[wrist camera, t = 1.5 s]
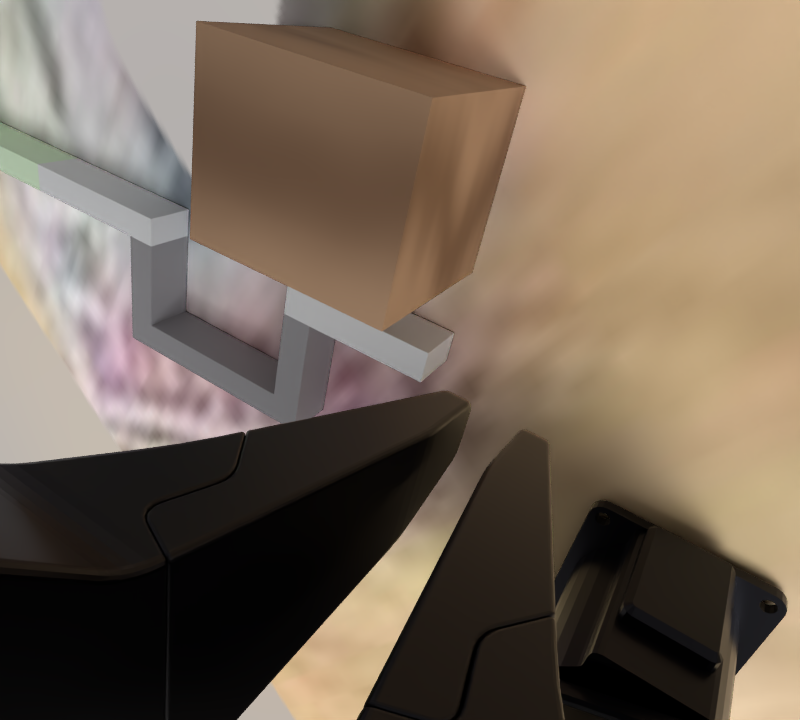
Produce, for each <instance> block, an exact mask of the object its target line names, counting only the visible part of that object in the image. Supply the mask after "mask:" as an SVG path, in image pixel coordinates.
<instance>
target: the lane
mask: <svg viewBox="0 0 800 720" xmlns="http://www.w3.org/2000/svg"><path fill="white" fill-rule="evenodd" d="M38 174H39V185H40V191H42V192H44V193H46V194H48V195H50V196H52V197H54V198H56V199H58V200H60V201H62V202H64V203H66V204H68V205H70V206H72V207H74V208H76V209H78V210H80V211H82V212H84V213H86V214H88V215H90V216H92V217H94V218H95V219H97V220H99V221H101V222H103V223H105V224H107V225H109V226H111V227H113V228H115V229H117V230H119V231H121V232H123V233H125V234H127V235H129V236H131V237H133V238H135V239H137V240H139V241H141V242H143V243H145V244H147V245H149V246H155V245H158V244H162V243H165V242H168V241H172V240H175V239H179V238H182V237H185V236H188V215H189V210H188V209H186V208H184V207H182V206H180V205H178V204H176V203H173V202H171V201H169V200H167V199H165V198H163V197H160V196H158V195H156V194H154V193H152V192H150V191H148V190H145V189H143V188H141V187H139V186H137V185H135V184H132V183H130V182H128V181H126V180H124V179H122V178H120V177H117V176H115V175H113V174H111V173H109V172H107V171H104V170H102V169H100V168H98V167H96V166H94V165H92V164H89V163H87V162H85V161H83V160H81V159H79V158H77V159H70V160H63V161H56V162H49V163H42V164H38ZM284 314H286V315H288V316H290V317H292V318H294V319H296V320H298V321H300V322H302V323H304V324H306V325H308V326H310V327H312V328H314V329H315V330H317V331H319V332H321V333H323V334H325V335H327V336H329V337H331V338H333V339H335V340H337V341H339V342H341V343H343V344H345V345H347V346H349V347H351V348H353V349H355V350H357V351H359V352H361V353H363V354H365V355H367V356H369V357H371V358H373V359H375V360H377V361H379V362H381V363H383V364H385V365H387V366H389V367H391V368H393V369H395V370H397V371H399V372H401V373H403V374H405V375H407V376H409V377H411V378H413V379H415V380H417V381H419V382H422V381H423V380H424V379H425V378H426V377H428V376H429V375H430V374H431V373H432V372H434V371H435V370H436V369H437V368H438V367H439V366H441V365H442V364H443V363H444V362H445V361H446V360H447V357H448V353H449V350H450V346H451V343H452V339H453V336H454V333H453V332H451V331H449V330H447V329H445V328H443V327H440V326H438V325H436V324H434V323H432V322H430V321H427V320H425V319H423V318H421V317H419V316H417V315H415V314H412V313H410V314H408V315H407V316H405V317H404V318H402V319H401V320H399V321H397V322H396V323H394V324H393V325H391V326H390V327H388V328H387V329H385V330H384V331H382V332H381V331H379V330H377V329H375V328H373V327H371V326H369V325H367V324H365V323H363V322H361V321H359V320H357V319H355V318H352V317H350V316H348V315H346V314H344V313H342V312H340V311H338V310H336V309H334V308H332V307H330V306H328V305H326V304H324V303H321V302H319V301H317V300H315V299H313V298H311V297H309V296H307V295H305V294H303V293H301V292H299V291H297V290H295V289H292V288H290V287H288V286H287V293H286V301H285V310H284Z"/></svg>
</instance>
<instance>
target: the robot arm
mask: <svg viewBox="0 0 800 720" xmlns="http://www.w3.org/2000/svg"><path fill="white" fill-rule="evenodd" d="M470 411H471V404H470V402H469V401H468V400H466V399H464V398H462V397H460V396H458V395H456V394H454V393H452V392H450V391H440V392H435V393H430V394H425V395H420V396H415V397H410V398H405V399H401V400H396V401H391V402H386V403H381V404H376V405H371V406H366V407H361V408H357V409H352V410H347V411H342V412H337V413H332V414H327V415H322V416H318V417H313V418H308V419H303V420H298V421H293V422H288V423H283V424H278V425H274V426H269V427H264V428H259V429H254V430H249V431H247V433H246V436H245V433H244V432H239V433H234V434H229V435H224V436H219V437H214V438H208V439H203V440H197V441H192V442H186V443H181V444H174V445H167V446H159V447H152V448H145V449H138V450H130V451H122V452H114V453H105V454H97V455H89V456H81V457H72V458H64V459H56V460H48V461H39V462H29V463H18V464H0V720H237V719H238V718H239V717H240V716H241V714H242V713H243V712H244V711H245V710H246V709H247V708H248V707H249V705H250V704H251V703H252V702H253V701H254V700H255V699H256V698H257V697H258V695H259V694H260V693H261V692H262V691H263V690H264V689H265V688H266V686H267V685H268V684H269V683H270V682H271V681H272V680H273V679H274V678H275V676H276V675H277V674H278V673H279V672H280V671H281V670H282V669H283V667H284V666H285V665H286V664H287V663H288V662H289V661H290V660H291V659H292V657H293V656H294V655H295V654H296V653H297V652H298V651H299V650H300V648H301V647H302V646H303V645H304V644H305V643H306V642H307V641H308V640H309V638H310V637H311V636H312V635H313V634H314V633H315V632H316V631H317V629H318V628H319V627H320V626H321V625H322V624H323V623H324V622H325V621H326V619H327V618H328V617H329V616H330V615H331V614H332V613H333V612H334V610H335V609H336V608H337V607H338V606H339V605H340V604H341V603H342V602H343V600H344V599H345V598H346V597H347V596H348V595H349V594H350V593H351V591H352V590H353V589H354V588H355V587H356V586H357V585H358V584H359V583H360V581H361V580H362V579H363V578H364V577H365V576H366V575H367V574H368V572H369V571H370V570H371V569H372V568H373V567H374V566H375V565H376V564H377V562H378V561H379V560H380V559H381V558H382V557H383V556H384V555H385V553H386V552H387V551H388V550H389V549H390V548H391V547H392V545H393V544H394V543H395V542H396V541H397V539H398V538H399V537H400V536H401V534H402V533H403V531H404V530H405V529H406V527H407V526H408V525H409V523H410V522H411V520H412V519H413V517H414V516H415V514H416V513H417V511H418V510H419V509H420V507H421V506H422V504H423V503H424V501H425V500H426V498H427V497H428V495H429V494H430V492H431V491H432V490H433V488H434V487H435V485H436V484H437V482H438V481H439V479H440V478H441V476H442V475H443V473H444V472H445V471H446V469H447V468H448V466H449V465H450V463H451V462H452V460H453V458H454V456H455V454H456V452H457V450H458V448H459V445H460V442H461V439H462V436H463V433H464V430H465V427H466V424H467V420H468V417H469V414H470ZM599 513H604V514H606V515H608V516H609V518H610V519H605V518H603V517H601V516H600V515H599ZM763 600H769V601H772V602H774V603H775V605H768V604H765V603H764V602H763ZM786 612H787V598H786V596H785V595H784V593H783V592H781V591H780V590H779V589H777V588H775V587H773V586H771V585H770V584H768V583H766V582H764V581H762V580H760V579H758V578H756V577H754V576H752V575H750V574H748V573H746V572H744V571H743V570H741V569H739V568H737V567H735V566H733V565H731V564H730V563H728V562H727V561H725V560H723V559H721V558H719V557H717V556H715V555H713V554H711V553H709V552H707V551H705V550H703V549H701V548H699V547H698V546H696V545H694V544H692V543H690V542H688V541H686V540H684V539H682V538H680V537H678V536H676V535H674V534H672V533H670V532H669V531H667V530H665V529H663V528H661V527H658V526H656V525H654V524H652V523H650V522H648V521H646V520H644V519H642V518H640V517H638V516H636V515H634V514H632V513H630V512H629V511H627V510H625V509H623V508H621V507H619V506H617V505H615V504H613V503H611V502H608V501H603V500H600V501H597V502H595V503H594V504H593V505H592V507H591V509H590V511H589V513H588V515H587V517H586V519H585V521H584V523H583V525H582V527H581V529H580V531H579V533H578V535H577V537H576V539H575V541H574V543H573V545H572V547H571V549H570V551H569V552H568V554H567V556H566V558H565V560H564V562H563V564H562V566H561V568H560V570H559V572H558V574H557V576H556V578H555V580H554V553H553V524H552V496H551V467H550V445H549V442H548V441H547V440H546V439H544V438H542V437H540V436H538V435H536V434H534V433H532V432H530V431H528V430H521V431H520V432H518V434H517V435H516V436H515V437H514V438H513V439H512V440H511V441H510V442H509V443H508V444H507V445H506V446H505V448H504V449H503V450H502V451H501V452H500V453H499V454H498V455H497V456H496V457H495V458H494V459H493V461H492V462H491V463H490V464H489V465H488V467H487V468H486V470H485V471H484V473H483V474H482V476H481V478H480V480H479V482H478V484H477V486H476V488H475V490H474V492H473V494H472V496H471V498H470V500H469V501H468V503H467V505H466V507H465V509H464V511H463V513H462V515H461V517H460V519H459V521H458V523H457V525H456V527H455V529H454V531H453V533H452V535H451V537H450V539H449V540H448V542H447V544H446V546H445V548H444V550H443V552H442V554H441V556H440V558H439V560H438V562H437V564H436V566H435V568H434V570H433V572H432V574H431V576H430V578H429V579H428V581H427V583H426V585H425V587H424V589H423V591H422V593H421V595H420V597H419V599H418V601H417V603H416V605H415V607H414V609H413V611H412V613H411V615H410V617H409V619H408V620H407V622H406V624H405V626H404V628H403V630H402V632H401V634H400V636H399V638H398V640H397V642H396V644H395V646H394V648H393V650H392V652H391V654H390V656H389V658H388V659H387V661H386V663H385V665H384V667H383V669H382V671H381V673H380V675H379V677H378V679H377V681H376V683H375V685H374V687H373V689H372V691H371V693H370V695H369V697H368V698H367V700H366V702H365V705H364V708H363V710H362V711H361V712H360V714H359V716H358V718H357V720H730V713H731V704H732V696H733V688H734V679H735V675H736V674H737V673H738V671H739V670H740V669H741V668H742V667H743V666H744V664H745V663H746V662H747V661H748V660H749V658H750V657H751V656H752V655H753V654H754V652H755V651H756V650H757V649H758V648H759V646H760V645H761V644H762V643H763V642H764V640H765V639H766V638H767V637H768V636H769V634H770V633H771V632H772V631H773V630H774V628H775V627H776V626H777V625H778V624H779V622H780V621H781V620H782V619H783V618H784V616H785V615H786Z"/></svg>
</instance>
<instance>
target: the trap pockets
mask: <svg viewBox="0 0 800 720" xmlns="http://www.w3.org/2000/svg"><path fill="white" fill-rule="evenodd" d="M187 249H188V236H185V237H182V238H179V239H175V240H172V241H168V242H165V243H162V244H158V245H155V246H149V245H147V244H145V243H143V242H141V241H139V240H137V239H135V238H133V237H131V276H132V324H133V338H135V339H136V340H138V341H140V342H142V343H143V344H145V345H147V346H149V347H150V348H152V349H154V350H155V351H157V352H159V353H161V354H162V355H164V356H166V357H168V358H169V359H171V360H173V361H174V362H176V363H178V364H180V365H181V366H183V367H185V368H186V369H188V370H190V371H192V372H193V373H195V374H197V375H199V376H200V377H202V378H204V379H205V380H207V381H209V382H211V383H212V384H214V385H216V386H218V387H219V388H221V389H223V390H224V391H226V392H228V393H230V394H231V395H233V396H235V397H237V398H238V399H240V400H242V401H243V402H245V403H247V404H249V405H250V406H252V407H254V408H256V409H257V410H259V411H261V412H262V413H264V414H266V415H268V416H269V417H271V418H273V419H275V420H276V421H278V422H280V423H281V424H283V423H288V422H293V421H298V420H303V419H308V418H312V417H313V416H315V415H316V414H317V413H319V412H320V411H322V410H323V406H324V400H325V395H326V389H327V383H328V377H329V372H330V366H331V360H332V355H333V349H334V343H335V339H333V338H331V337H329V336H327V335H325V334H323V333H321V332H319V331H317V330H315V329H314V328H312V327H310V326H308V325H306V324H304V323H302V322H300V321H298V320H296V319H294V318H292V317H290V316H288V315H286V314H284V318H283V326H282V334H281V342H280V350H279V358H278V361H277V360H275V359H273V358H271V357H270V356H268V355H266V354H264V353H262V352H260V351H258V350H257V349H255V348H253V347H251V346H249V345H247V344H245V343H244V342H242V341H240V340H238V339H236V338H234V337H232V336H231V335H229V334H227V333H225V332H223V331H221V330H219V329H218V328H216V327H214V326H212V325H210V324H208V323H206V322H205V321H203V320H201V319H199V318H197V317H195V316H193V315H192V314H190V313H188V312H186V282H187Z"/></svg>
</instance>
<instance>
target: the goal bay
mask: <svg viewBox="0 0 800 720" xmlns="http://www.w3.org/2000/svg"><path fill="white" fill-rule="evenodd" d="M70 159H77V158H76V157H74V156H72V155H70V154H68V153H66V152H64V151H61V150H59V149H57V148H55V147H53V146H51V145H48V144H46V143H44V142H42V141H40V140H38V139H36V138H33V137H31V136H29V135H27V134H25V133H23V132H20V131H18V130H16V129H14V128H12V127H10V126H8V125H5V124H3V123H1V122H0V171H2V172H4V173H6V174H8V175H10V176H12V177H14V178H16V179H18V180H20V181H22V182H24V183H26V184H28V185H30V186H32V187H34V188H36V189H38V190H40V185H39V174H38V164H42V163H49V162H56V161H63V160H70Z"/></svg>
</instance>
